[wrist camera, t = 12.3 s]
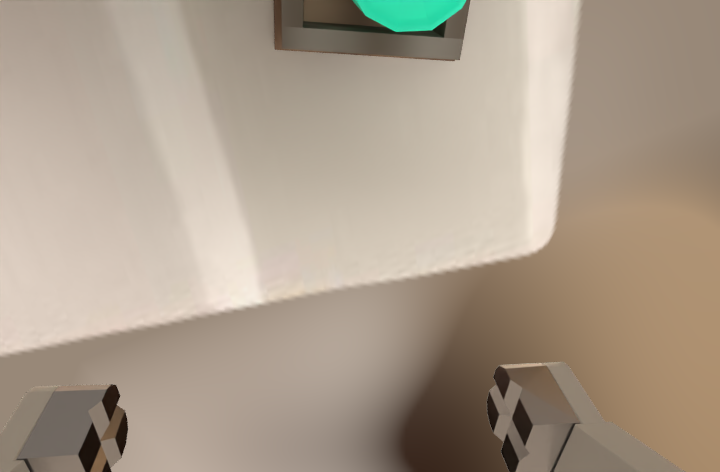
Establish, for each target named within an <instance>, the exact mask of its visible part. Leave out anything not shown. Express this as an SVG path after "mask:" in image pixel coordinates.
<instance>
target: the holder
mask: <svg viewBox="0 0 720 472" xmlns="http://www.w3.org/2000/svg"><path fill="white" fill-rule="evenodd" d="M469 5H470V0H466V2H465V4H464V6H463V7H462V9H460V10H459V11H458V12H456V13H455V14H454V15H452V16H451V17H449V18H448V19H447V20H445V21H444V22H443V23H441V24H440V25H438V26H437V27H436V28H434V29H433V30H428V31H406V32H395V31H393V30H391V29H389V28H387V27H386V26H384V25H382V24H380V23H378V22H376V21H374V20H372V19H371V18H369V17H367V16H365V15H364V13H363V12H362V11H361V10H360V9H359V8H358V6H357V5H356V4H355V3H354V2H353V1H352V0H274V26H275V50H291V51H306V52H322V53H337V54H353V55H368V56H384V57H399V58H414V59H430V60H445V61H455V60H460V55H461V50H462V44H463V38H464V33H465V27H466V22H467V16H468V10H469Z"/></svg>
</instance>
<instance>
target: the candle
mask: <svg viewBox="0 0 720 472" xmlns="http://www.w3.org/2000/svg"><path fill="white" fill-rule="evenodd" d="M352 1H353V2H354V3H355V4H356V5H357V6H358V8H359V9H360V10H361V11H362V12H363V13H364V15H365V16H367V17H369V18H371V19H372V20H374V21H376V22H378V23H380V24H382V25H384V26H386V27H387V28H389V29H391V30H393V31H395V32H406V31H428V30H433V29H434V28H436V27H437V26H438V25H440V24H441V23H443V22H444V21H445V20H447V19H448V18H449V17H451V16H452V15H454V14H455V13H456V12H458V11H459V10H460V9H462V7H463V6H464V4H465V2H466V0H352Z"/></svg>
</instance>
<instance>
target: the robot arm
mask: <svg viewBox="0 0 720 472" xmlns="http://www.w3.org/2000/svg"><path fill="white" fill-rule="evenodd" d="M493 378H494V380H495V382H496V385H495V386H494V387H493V388H492V389H491V390H490V391H489V394H488V398H487V414H488V419H489V423H490V425H491V428H492V431H493V433H494V434H495V435H496V436H497V437H499V438H500V439H501V440H502V441H503V442H504V443H503V446H502V449H501V453H502V456H503V458H504V460H505V463H506V465H507V468H508V470H509V472H685V471H683V470H682V469H680V468H679V467H677V466H676V465H674V464H673V463H671V462H670V461H669V460H667V459H665V458H664V457H663V456H661V455H660V454H658V453H657V452H655V451H654V450H652V449H651V448H649V447H648V446H646V445H645V444H643V443H642V442H640V441H639V440H638V439H636V438H635V437H633V436H632V435H630V434H629V433H627V432H626V431H624V430H623V429H621V428H620V427H618V426H617V425H615V424H614V423H613V422H605V421H604V420H603V418H602V416H601V415H600V413H599V412H598V410H597V409H596V407H595V406H594V404H593V403H592V401H591V400H590V398H589V396H588V395H587V393H586V392H585V390H584V389H583V387H582V386H581V384H580V383H579V381H578V380H577V378H576V377H575V375H574V374H573V372H572V371H571V369H570V367H569V366H568V365H567V364H565V363H564V362H553V363H529V364H512V365H499V366H498V367H497V368H496V370H495V373H494V376H493ZM119 398H120V394H119V391H118V388H117V386H116V385H112V384H109V385H107V384H106V385H62V386H37V387H33V388H31V389H30V390H29V391H28V392H26V394H25V395H24V396H23V398H22V400H21V401H20V403H19V404H18V406H17V408H16V409H15V411H14V412H13V414H12V416H11V417H10V419H9V421H8V422H7V424H6V426H5V427H4V429H3V430H2V432H1V434H0V472H111V469H110V468H111V467H112V466H113V465H114V464H115V463H116V462H117V461H118V460H119V459H121V458H122V454H123V451H124V448H125V445H126V440H127V433H128V424H127V423H128V422H127V416H126V413H125V410H123V409H122V408H120V407H119V406H118V405H117V403H118V401H119Z"/></svg>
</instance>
